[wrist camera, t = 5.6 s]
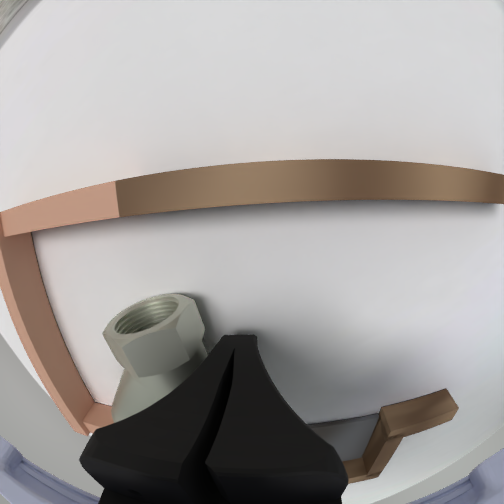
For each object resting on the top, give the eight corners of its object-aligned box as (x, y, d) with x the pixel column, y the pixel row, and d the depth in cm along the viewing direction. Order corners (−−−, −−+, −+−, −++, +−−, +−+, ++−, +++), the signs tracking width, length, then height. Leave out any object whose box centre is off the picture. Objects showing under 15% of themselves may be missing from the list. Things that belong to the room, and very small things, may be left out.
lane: (492, 174, 9) (519, 178, 7) (414, 446, 14) (420, 463, 12) (140, 178, 10) (114, 181, 8) (215, 470, 15) (212, 490, 13)
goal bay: (140, 178, 10) (108, 181, 7) (199, 430, 14) (191, 460, 11) (15, 208, 10) (-16, 217, 8) (88, 409, 14) (75, 431, 12)
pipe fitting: (150, 410, 14) (250, 412, 13) (126, 454, 11) (239, 470, 9) (88, 304, 12) (200, 285, 11) (42, 343, 8) (161, 341, 7)
